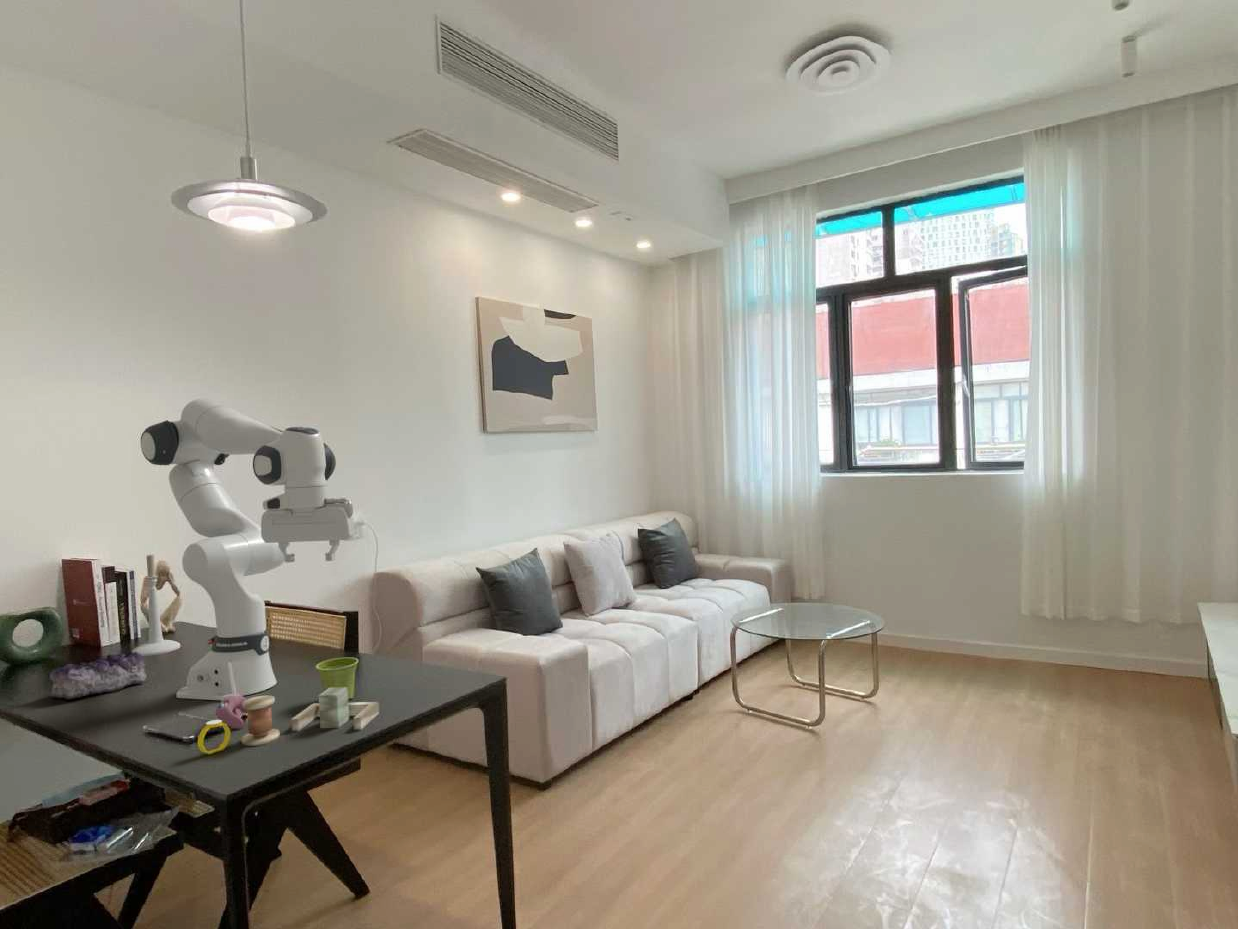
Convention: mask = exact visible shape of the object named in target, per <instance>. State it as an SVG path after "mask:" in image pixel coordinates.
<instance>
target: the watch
mask: <svg viewBox="0 0 1238 929" xmlns="http://www.w3.org/2000/svg"><path fill="white" fill-rule="evenodd" d="M220 726H221V727H222V728H223V730H224V739H223V741H222V743H221V744H220V745H219V747H216V748H214V749H213V748H212V749H210V750H206V748H205V746H204V741H205V736H206V734H207V732H208V731H209V730H211V729H213V728H217V727H220ZM230 728H231V727H230V726H228V725H227V724H225V723H224V722H222V720H219V719H212V720H209V721H207V722H205V726H204V727H203V728H202V729H201V731H200V733H199V735H198V737H197V747H198V750H199V751H201V752H202V754H206V755H212V754H215V753H218V752H220V751H223V750H225V748H226V747H227V746H228V744H229V743H230V740H231V729H230Z"/></svg>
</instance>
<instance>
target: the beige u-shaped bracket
mask: <svg viewBox="0 0 1238 929" xmlns="http://www.w3.org/2000/svg"><path fill="white" fill-rule="evenodd" d="M348 707H349V717H353V729H354V731H355V730H356V731H358V730H359V731H361V730H363V729H364V728H365V727H366V726H367V725H368V724H369V723H370V722H371V721H372V720H373V719H374V718H376V717H377V716H378V715H379V714H380V704H379V701H362V702H359V701H358V702H357V701H355V702H351V701H350V702H348ZM318 717H319V718H320V709H319V702H313V703H312V704H310V705H309V706H307V707H306V708H305V709H303V710H302V711H301V712H299V713H298V714H296V715H295V716H294V717H293V718H291V721H290V722H291V731H292V732H300V731H301V730H303V729H304V728H305V727H306V726H307V725H308V724H310V723H312V722H313V720H315V719H316V718H318Z"/></svg>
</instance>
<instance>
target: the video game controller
mask: <svg viewBox="0 0 1238 929" xmlns="http://www.w3.org/2000/svg"><path fill="white" fill-rule="evenodd" d="M245 700H247V698H246V697H244V696H241V695H239V694H237V695H231V696H229V697H227V698H225V699H223V700H220V703H219V704H218V706H217V707H216V709H215V715H216V717H217V720H222V723H224V724H226V725H228V727H229V728H232V729H236V730H240V729H243V727H244V726H245V722H244V720H243V719H242V718H243V717H242V715H243V713H245V714H247V709H243V708H242V703H243V702H244V701H245ZM241 717H242V718H241Z"/></svg>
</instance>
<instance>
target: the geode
mask: <svg viewBox="0 0 1238 929" xmlns="http://www.w3.org/2000/svg"><path fill="white" fill-rule="evenodd" d="M146 668H147V665H146V664H145V663H144V658H143V656H141V655H140V654H138V653H137V652H132V651H131V653H130V654H124V653H120V655H119V656H117V655H112V654H108V655H106V658H104V657H100V658H98V659H96V660H95V661H91V662H90V663H86V662H85V663H84V662H80V661H79V662H77V664H75V663H68V664H66V665H65V666H64V667H57V668H54V669H52V670H51V671H50V674H49V679H50V681H52V683H53V685H52V689H51V691H52V692H51V697H52V698H60V699H65V700H72V699H77V698H81V697H84V696H90V695H93V694H104V693H113V692H117V691H120V690H122V689H123V688H125V687H128V686H131V685H143V684H145V683H146V682H147V680H148V679H147V674H146Z"/></svg>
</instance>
